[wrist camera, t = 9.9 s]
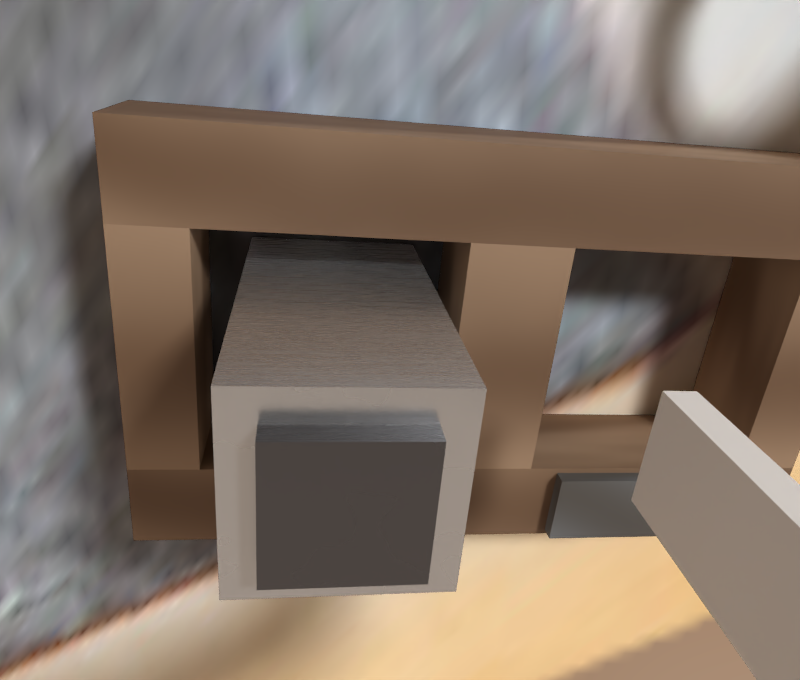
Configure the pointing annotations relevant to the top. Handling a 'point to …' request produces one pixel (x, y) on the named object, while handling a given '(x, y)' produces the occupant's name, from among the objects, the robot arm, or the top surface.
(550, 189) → the socket board
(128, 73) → the top surface
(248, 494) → the plug
